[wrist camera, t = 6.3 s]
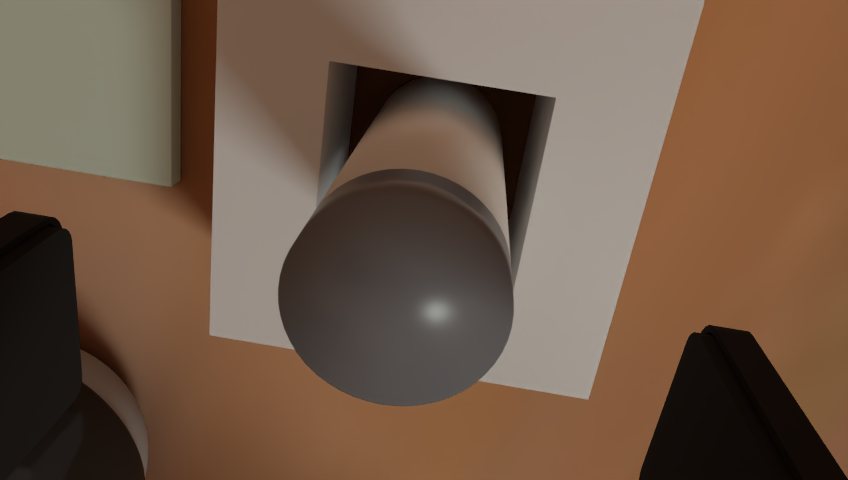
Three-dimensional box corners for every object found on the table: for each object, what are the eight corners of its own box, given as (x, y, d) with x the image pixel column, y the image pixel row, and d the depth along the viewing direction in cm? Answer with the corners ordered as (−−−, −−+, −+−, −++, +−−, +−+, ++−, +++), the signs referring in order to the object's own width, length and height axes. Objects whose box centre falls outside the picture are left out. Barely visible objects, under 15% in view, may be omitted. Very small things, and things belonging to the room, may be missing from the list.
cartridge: (489, 209, 25) (490, 423, 14) (367, 189, 25) (271, 385, 14) (512, 87, 23) (536, 218, 12) (381, 65, 23) (285, 176, 12)
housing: (570, 319, 26) (588, 399, 22) (257, 267, 26) (209, 334, 22) (720, -247, 19) (794, -308, 14) (288, -312, 19) (227, -394, 15)
